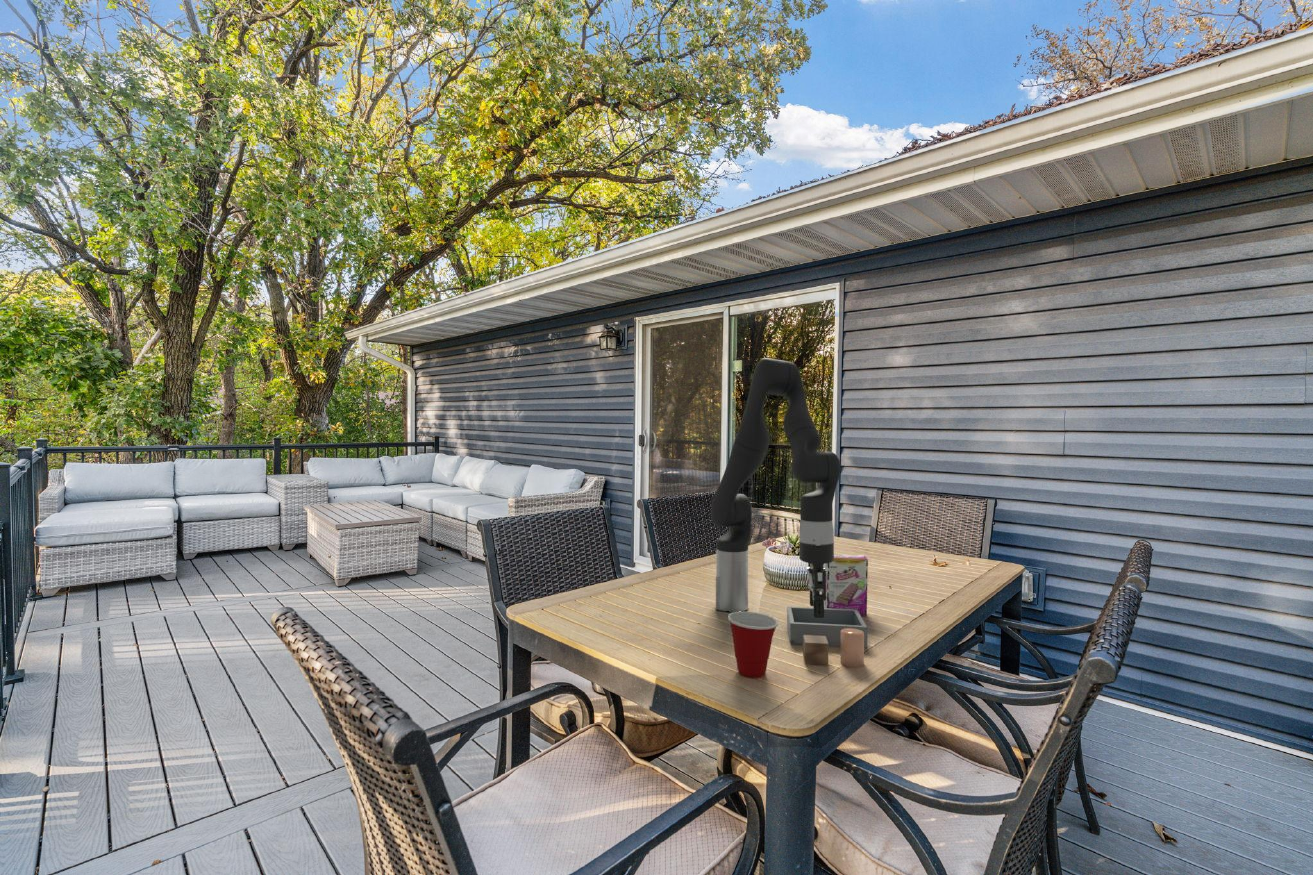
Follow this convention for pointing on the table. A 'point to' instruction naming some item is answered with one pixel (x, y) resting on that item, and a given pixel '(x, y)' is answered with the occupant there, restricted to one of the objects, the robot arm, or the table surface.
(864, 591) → the candy bar box
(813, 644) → the walnut cube
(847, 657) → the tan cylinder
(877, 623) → the table surface
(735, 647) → the plastic cup
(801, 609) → the gray tote
